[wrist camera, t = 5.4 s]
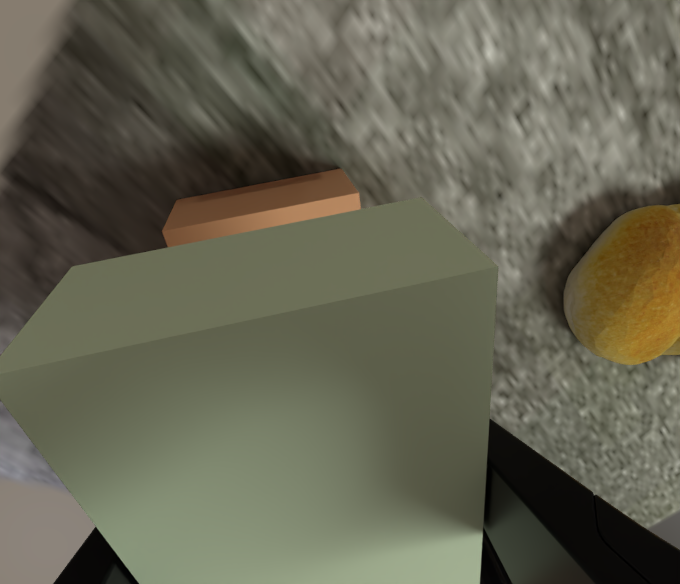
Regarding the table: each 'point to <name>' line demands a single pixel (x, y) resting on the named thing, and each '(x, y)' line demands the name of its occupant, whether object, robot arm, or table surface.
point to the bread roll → (629, 288)
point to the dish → (260, 207)
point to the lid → (273, 401)
